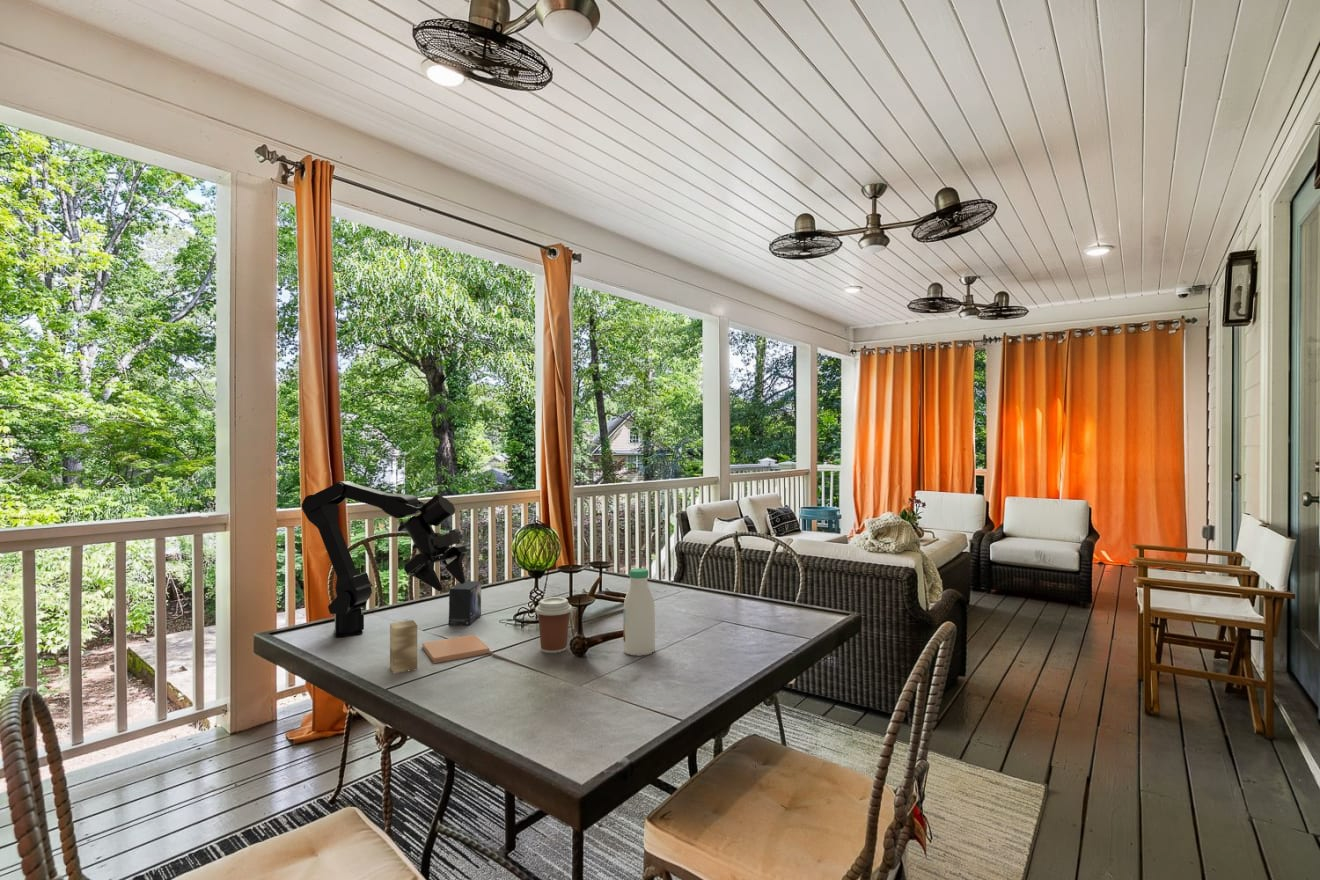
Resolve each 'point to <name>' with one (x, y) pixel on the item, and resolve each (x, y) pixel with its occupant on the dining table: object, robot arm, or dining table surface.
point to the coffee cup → (553, 623)
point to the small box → (464, 603)
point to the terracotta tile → (454, 648)
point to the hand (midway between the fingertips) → (452, 586)
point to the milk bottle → (639, 616)
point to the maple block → (403, 646)
